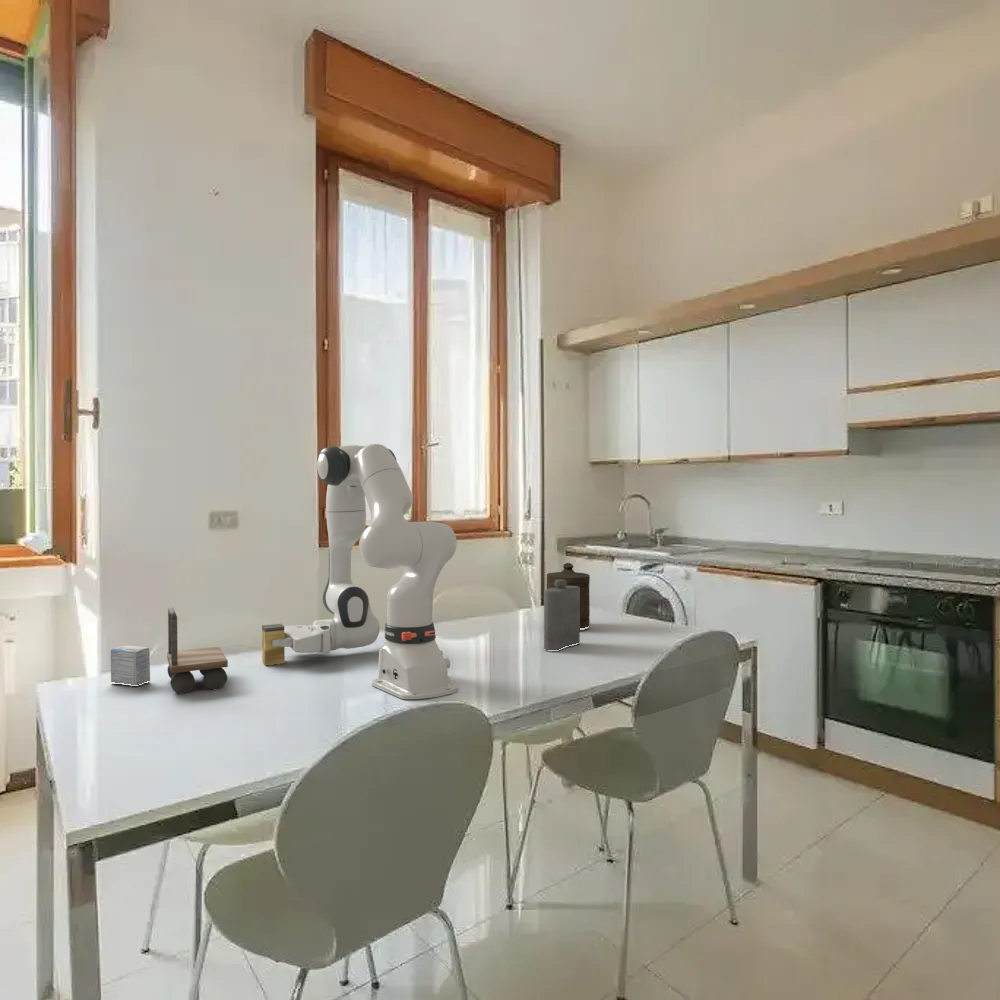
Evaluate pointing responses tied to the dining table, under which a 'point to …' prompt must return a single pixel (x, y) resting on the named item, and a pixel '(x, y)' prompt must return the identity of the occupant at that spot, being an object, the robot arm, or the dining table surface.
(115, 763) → the dining table surface
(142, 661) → the grey wood-grain block
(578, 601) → the flask
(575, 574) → the wooden container
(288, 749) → the dining table surface
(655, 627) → the dining table surface
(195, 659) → the trolley
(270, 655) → the chock block
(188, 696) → the dining table surface
